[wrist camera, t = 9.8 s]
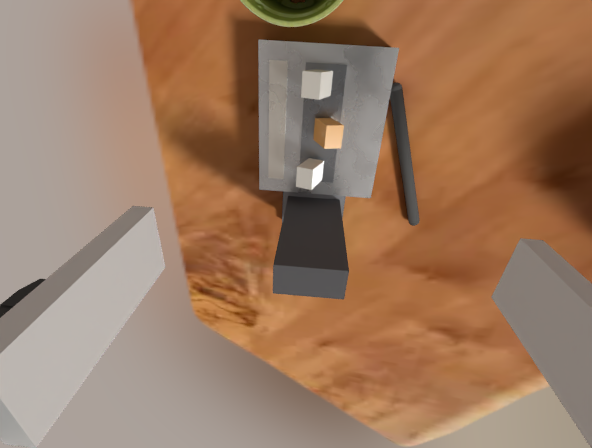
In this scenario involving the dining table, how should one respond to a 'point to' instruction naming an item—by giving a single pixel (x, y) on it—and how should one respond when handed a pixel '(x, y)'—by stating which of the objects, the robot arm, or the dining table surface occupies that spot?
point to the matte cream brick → (309, 173)
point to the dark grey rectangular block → (311, 247)
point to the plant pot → (291, 11)
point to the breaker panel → (322, 114)
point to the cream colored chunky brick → (316, 84)
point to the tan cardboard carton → (328, 133)
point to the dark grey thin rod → (404, 152)
